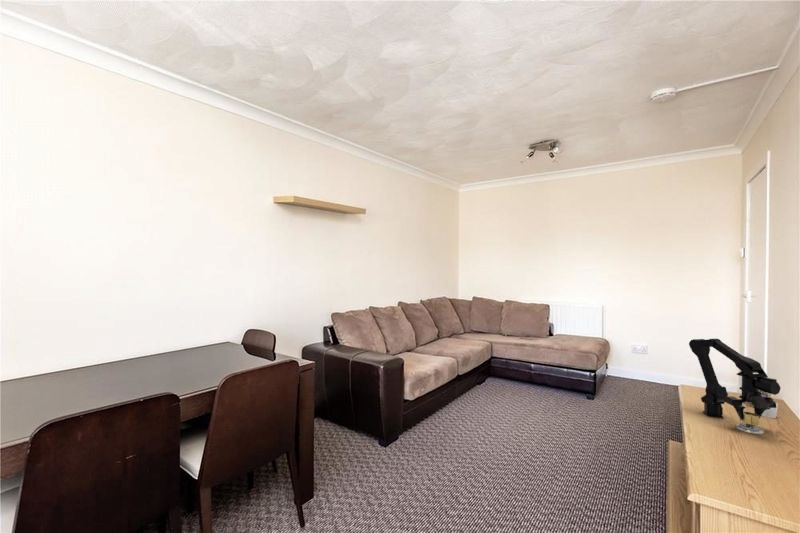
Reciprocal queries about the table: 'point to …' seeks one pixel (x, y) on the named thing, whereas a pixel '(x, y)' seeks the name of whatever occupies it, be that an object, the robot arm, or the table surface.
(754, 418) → the collar
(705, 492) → the table surface
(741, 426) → the hub
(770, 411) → the white cup
